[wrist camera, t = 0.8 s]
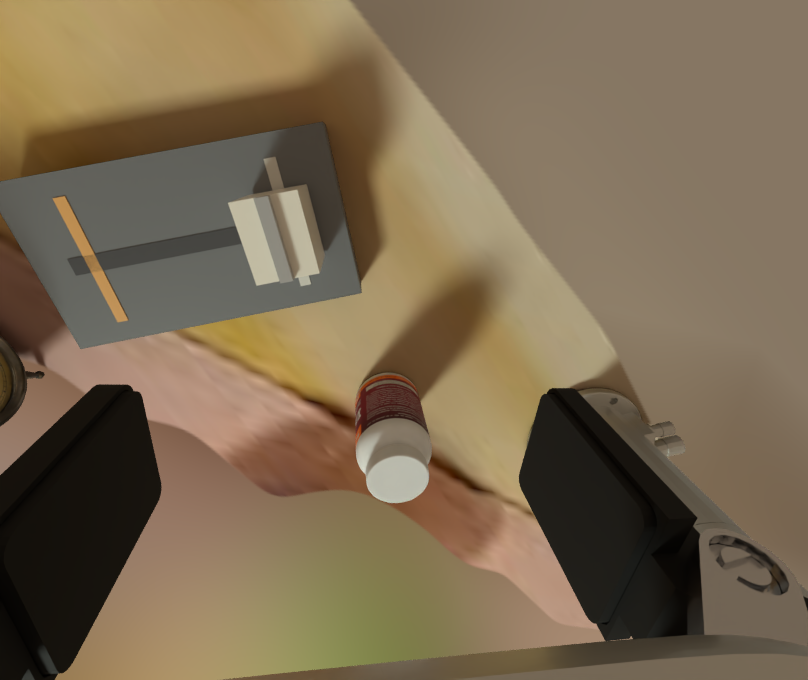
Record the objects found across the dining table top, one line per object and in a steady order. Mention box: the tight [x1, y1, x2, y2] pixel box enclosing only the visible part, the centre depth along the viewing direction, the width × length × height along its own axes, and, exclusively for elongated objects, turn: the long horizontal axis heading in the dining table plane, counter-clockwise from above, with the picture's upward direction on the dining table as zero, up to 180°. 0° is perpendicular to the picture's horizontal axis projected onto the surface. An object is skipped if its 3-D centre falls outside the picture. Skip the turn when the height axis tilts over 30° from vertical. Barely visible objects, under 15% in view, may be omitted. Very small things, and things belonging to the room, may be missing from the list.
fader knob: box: [228, 184, 325, 286], centre depth 26 cm, size 4×5×6 cm
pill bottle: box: [356, 373, 432, 503], centre depth 34 cm, size 6×6×11 cm
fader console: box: [0, 122, 362, 349], centre depth 30 cm, size 22×12×3 cm, turn 99°
